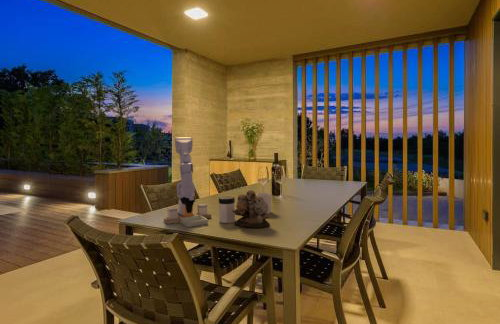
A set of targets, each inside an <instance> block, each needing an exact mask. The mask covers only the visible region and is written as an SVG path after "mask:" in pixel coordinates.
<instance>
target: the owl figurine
mask: <svg viewBox="0 0 500 324" xmlns="http://www.w3.org/2000/svg"><path fill="white" fill-rule="evenodd" d="M267 205H268V204H267V203H266V202H265V201H264V200H263V198H262V197H257V193H256V192H255V190H253V189H250V190H249V189H248V190H247V191H246V194H244V193H240V194H238V195H237V202H236V205H235V210H233V211H232V212H233V213H235V216H239V217H240V218H238V219H237V220H235V222H234V225H235V227H237V228H241V229H242V228H243V229H249V230H250V229H251V230H255V229H256V230H258V229H265V228H269V227H270V226H271V225H270V224H271V223H270V222H269V221H268V220H267V219H269V218H270V215H269V214H266V213H267V211H268V206H267Z"/></svg>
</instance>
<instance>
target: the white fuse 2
mask: <svg viewBox="0 0 500 324" xmlns="http://www.w3.org/2000/svg"><path fill="white" fill-rule="evenodd" d="M196 206H197V207H196V208H197V209H196V210H197V213H198V215H207V213H208V204H206V203H200V204H199V203H198V204H196Z"/></svg>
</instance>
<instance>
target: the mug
mask: <svg viewBox="0 0 500 324" xmlns="http://www.w3.org/2000/svg"><path fill="white" fill-rule="evenodd" d="M256 196H257V197H262V198H263V200H264V201H265V202H266V203H267V204H268V205H267V206H268V211H267V213H266V215H269V214H271V213H272V197H271V196H272V193H269V192H260V193H256Z"/></svg>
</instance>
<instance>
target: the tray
mask: <svg viewBox="0 0 500 324" xmlns="http://www.w3.org/2000/svg"><path fill="white" fill-rule="evenodd" d="M180 222H181V223H182V224H181V223H180V224H181V225H183V226H184V225H185V226H184V227H186V228H187V227H188V228H192V227H193V226H194V227H198V226H205V225H209V219H207V218H205V217H203V216H201V215H198V216H191V217H184V218H180ZM194 227H193V228H194Z"/></svg>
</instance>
